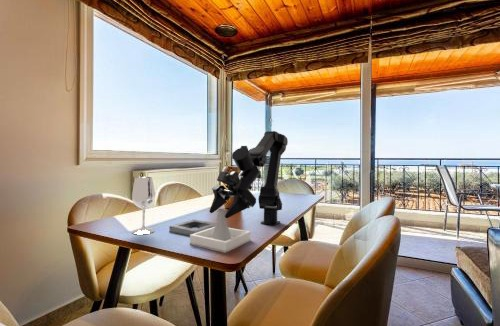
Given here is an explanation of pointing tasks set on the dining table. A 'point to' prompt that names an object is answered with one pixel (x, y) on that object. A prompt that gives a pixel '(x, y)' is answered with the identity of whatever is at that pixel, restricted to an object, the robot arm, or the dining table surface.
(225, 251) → the tray
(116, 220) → the dining table surface
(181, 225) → the holder
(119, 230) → the dining table surface
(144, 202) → the wineglass
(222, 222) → the flask
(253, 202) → the robot arm
